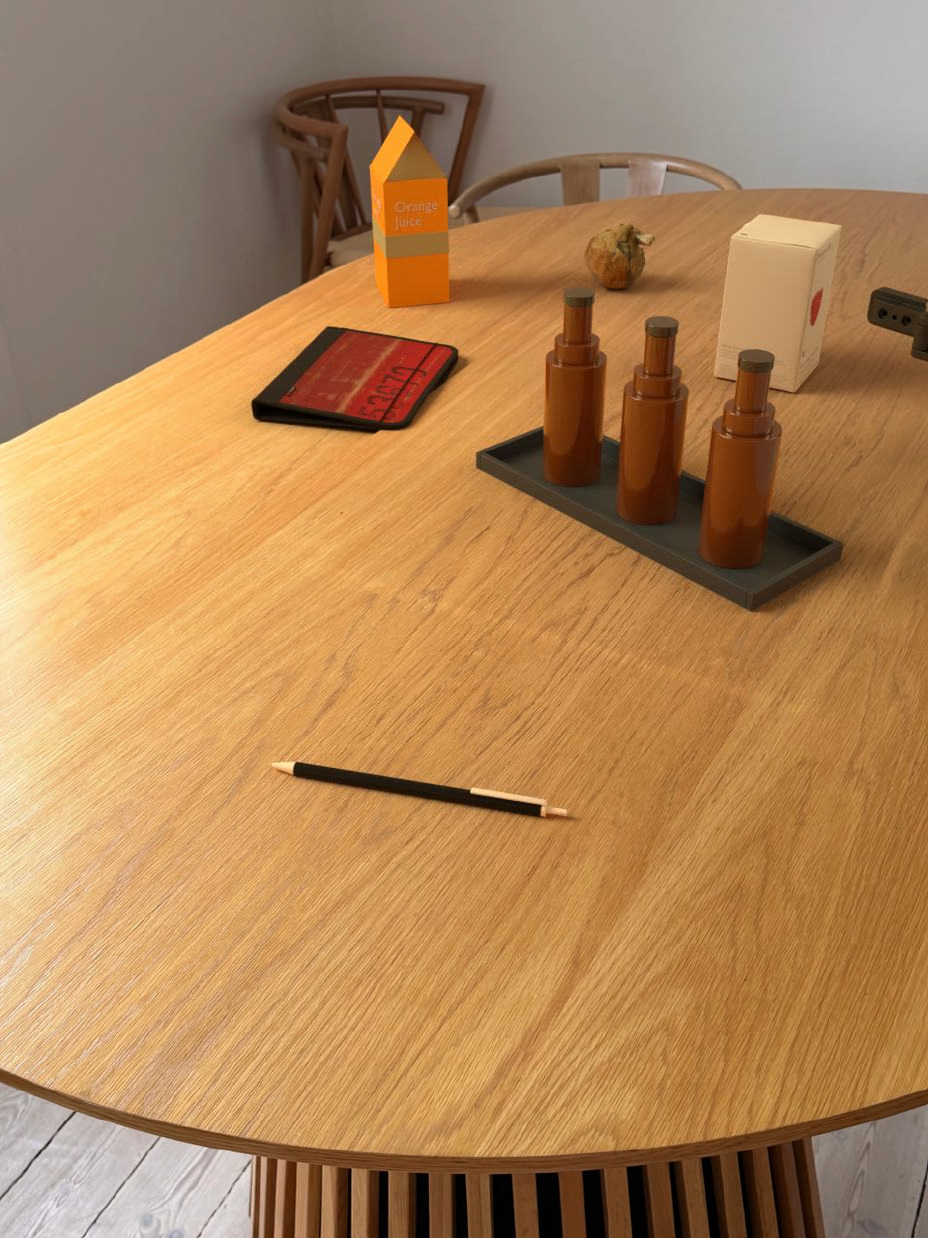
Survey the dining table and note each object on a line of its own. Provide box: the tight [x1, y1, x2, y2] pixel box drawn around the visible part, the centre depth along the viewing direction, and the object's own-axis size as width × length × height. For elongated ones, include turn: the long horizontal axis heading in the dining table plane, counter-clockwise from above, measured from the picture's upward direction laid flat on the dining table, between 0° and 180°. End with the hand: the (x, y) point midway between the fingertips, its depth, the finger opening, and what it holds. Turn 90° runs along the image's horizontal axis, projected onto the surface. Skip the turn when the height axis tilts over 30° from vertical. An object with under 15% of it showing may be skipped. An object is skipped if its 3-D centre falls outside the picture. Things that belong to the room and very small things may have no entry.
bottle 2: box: [615, 315, 690, 525], centre depth 98 cm, size 5×5×17 cm
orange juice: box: [368, 115, 450, 309], centre depth 144 cm, size 8×9×20 cm
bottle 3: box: [698, 349, 783, 569], centre depth 92 cm, size 5×5×17 cm
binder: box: [250, 325, 460, 431], centre depth 126 cm, size 16×2×21 cm
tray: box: [475, 425, 844, 612], centre depth 103 cm, size 31×11×2 cm, turn 41°
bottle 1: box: [542, 286, 608, 487], centre depth 104 cm, size 5×5×17 cm
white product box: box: [713, 213, 842, 393], centre depth 124 cm, size 9×9×15 cm
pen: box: [269, 761, 568, 818], centre depth 75 cm, size 1×19×1 cm, turn 76°
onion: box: [583, 222, 656, 290], centre depth 149 cm, size 8×8×8 cm
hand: (911, 287), depth 77 cm, fingers open, 8 cm apart
